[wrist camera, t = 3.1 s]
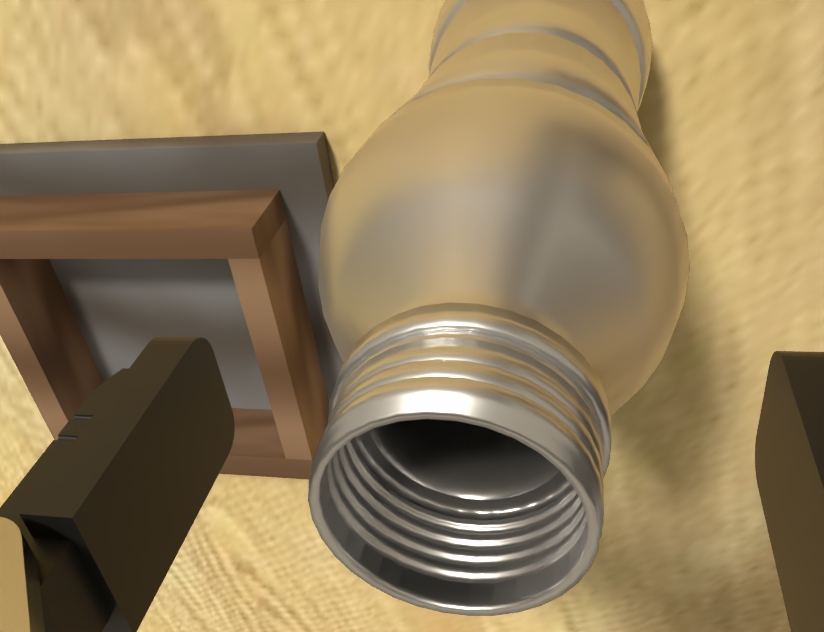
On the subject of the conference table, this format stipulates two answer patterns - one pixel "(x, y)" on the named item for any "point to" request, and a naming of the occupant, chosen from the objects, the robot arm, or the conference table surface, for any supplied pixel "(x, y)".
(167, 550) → the robot arm
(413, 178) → the plastic bottle
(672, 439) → the conference table surface
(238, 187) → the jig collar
